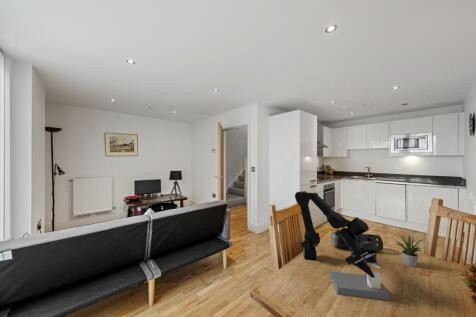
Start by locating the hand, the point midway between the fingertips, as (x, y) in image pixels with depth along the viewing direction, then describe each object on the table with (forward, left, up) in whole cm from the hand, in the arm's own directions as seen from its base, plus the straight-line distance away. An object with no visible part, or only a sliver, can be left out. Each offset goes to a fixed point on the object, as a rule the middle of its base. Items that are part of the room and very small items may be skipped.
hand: (377, 275), depth 81 cm
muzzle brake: (+9, +44, -9) cm, 46 cm away
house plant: (+32, +30, -8) cm, 45 cm away
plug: (-1, +1, -8) cm, 8 cm away
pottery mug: (+4, +27, -9) cm, 28 cm away
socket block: (-7, +3, -8) cm, 11 cm away
